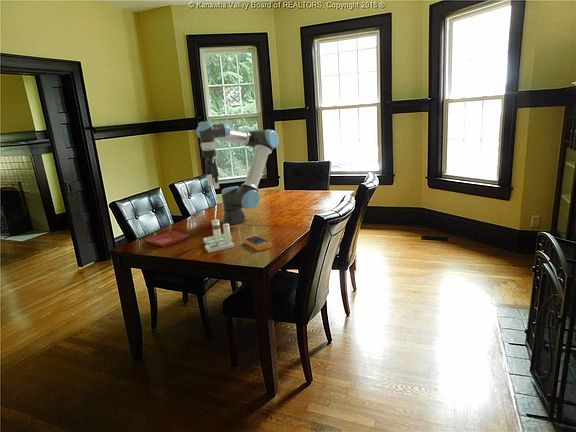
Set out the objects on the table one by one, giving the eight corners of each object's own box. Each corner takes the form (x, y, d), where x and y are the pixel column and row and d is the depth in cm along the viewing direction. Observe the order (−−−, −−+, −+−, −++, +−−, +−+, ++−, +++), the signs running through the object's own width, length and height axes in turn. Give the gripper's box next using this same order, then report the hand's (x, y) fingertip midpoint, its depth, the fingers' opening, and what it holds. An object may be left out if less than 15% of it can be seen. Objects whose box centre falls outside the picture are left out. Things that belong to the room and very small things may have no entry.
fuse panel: (230, 242, 206) (229, 239, 206) (234, 246, 199) (234, 243, 199) (205, 248, 201) (204, 245, 200) (208, 252, 194) (208, 249, 193)
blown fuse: (220, 239, 212) (217, 218, 209) (222, 241, 208) (219, 220, 205) (213, 240, 210) (210, 220, 207) (215, 242, 207) (212, 221, 204)
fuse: (230, 244, 204) (228, 223, 201) (232, 245, 201) (229, 224, 198) (224, 245, 203) (222, 224, 200) (226, 247, 200) (223, 225, 197)
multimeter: (257, 240, 208) (257, 234, 207) (272, 248, 193) (272, 242, 192) (243, 243, 204) (242, 237, 203) (257, 252, 189) (256, 246, 188)
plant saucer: (172, 235, 231) (171, 230, 231) (189, 239, 220) (189, 234, 219) (145, 244, 218) (144, 239, 217) (163, 249, 207) (162, 243, 206)
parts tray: (227, 237, 217) (227, 233, 216) (233, 241, 208) (232, 237, 207) (203, 242, 211) (203, 238, 210) (208, 247, 202) (207, 242, 202)
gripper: (196, 149, 220) (202, 185, 225) (207, 151, 198) (212, 191, 203) (209, 148, 223) (214, 183, 228) (221, 149, 201) (226, 188, 206)
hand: (213, 187), depth 216 cm, fingers open, 13 cm apart
